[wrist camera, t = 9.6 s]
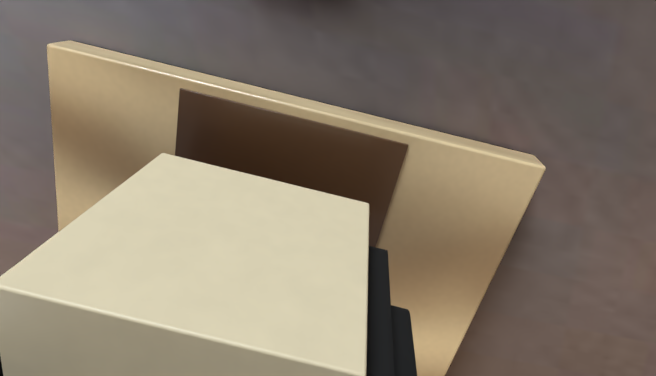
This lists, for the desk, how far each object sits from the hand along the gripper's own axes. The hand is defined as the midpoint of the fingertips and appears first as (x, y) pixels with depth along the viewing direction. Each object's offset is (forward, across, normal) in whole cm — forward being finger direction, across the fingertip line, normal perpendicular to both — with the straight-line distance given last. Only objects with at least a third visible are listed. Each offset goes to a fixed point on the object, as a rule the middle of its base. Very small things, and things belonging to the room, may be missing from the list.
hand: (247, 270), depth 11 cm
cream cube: (0, 0, 0) cm, 0 cm away
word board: (+4, 0, +5) cm, 6 cm away
